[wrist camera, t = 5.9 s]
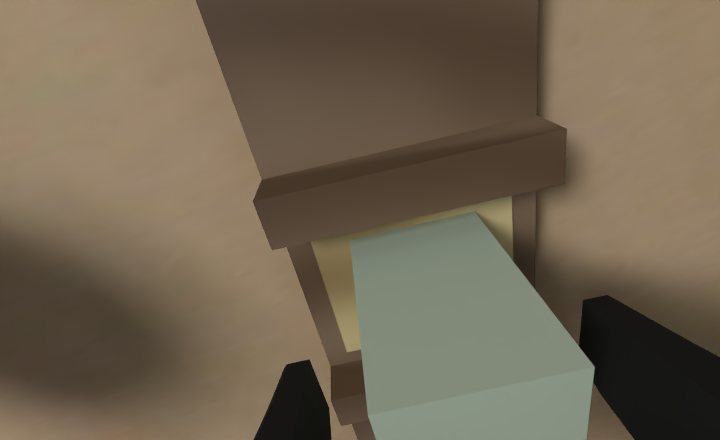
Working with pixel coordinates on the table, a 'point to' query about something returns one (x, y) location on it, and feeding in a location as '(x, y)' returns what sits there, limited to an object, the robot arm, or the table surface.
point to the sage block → (462, 340)
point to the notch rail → (384, 136)
